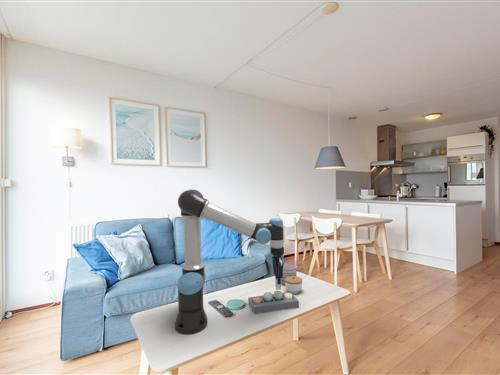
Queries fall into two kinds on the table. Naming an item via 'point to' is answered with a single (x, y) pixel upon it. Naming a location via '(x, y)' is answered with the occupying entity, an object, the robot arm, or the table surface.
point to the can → (288, 271)
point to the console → (273, 304)
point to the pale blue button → (267, 297)
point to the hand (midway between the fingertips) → (278, 289)
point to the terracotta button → (256, 300)
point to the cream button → (288, 296)
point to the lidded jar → (293, 284)
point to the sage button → (278, 295)
